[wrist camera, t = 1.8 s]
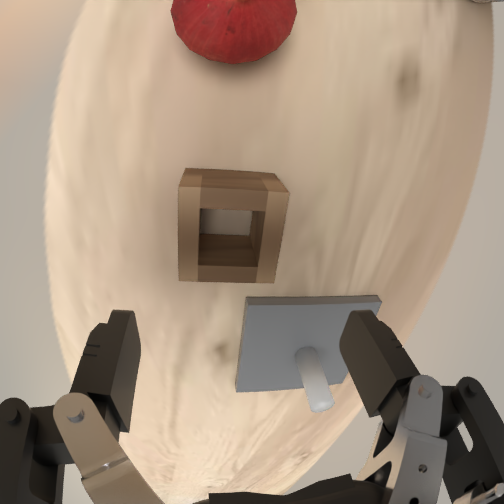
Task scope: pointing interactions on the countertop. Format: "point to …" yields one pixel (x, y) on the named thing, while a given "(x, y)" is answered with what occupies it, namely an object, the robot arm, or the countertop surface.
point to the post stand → (296, 344)
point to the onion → (233, 27)
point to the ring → (230, 246)
